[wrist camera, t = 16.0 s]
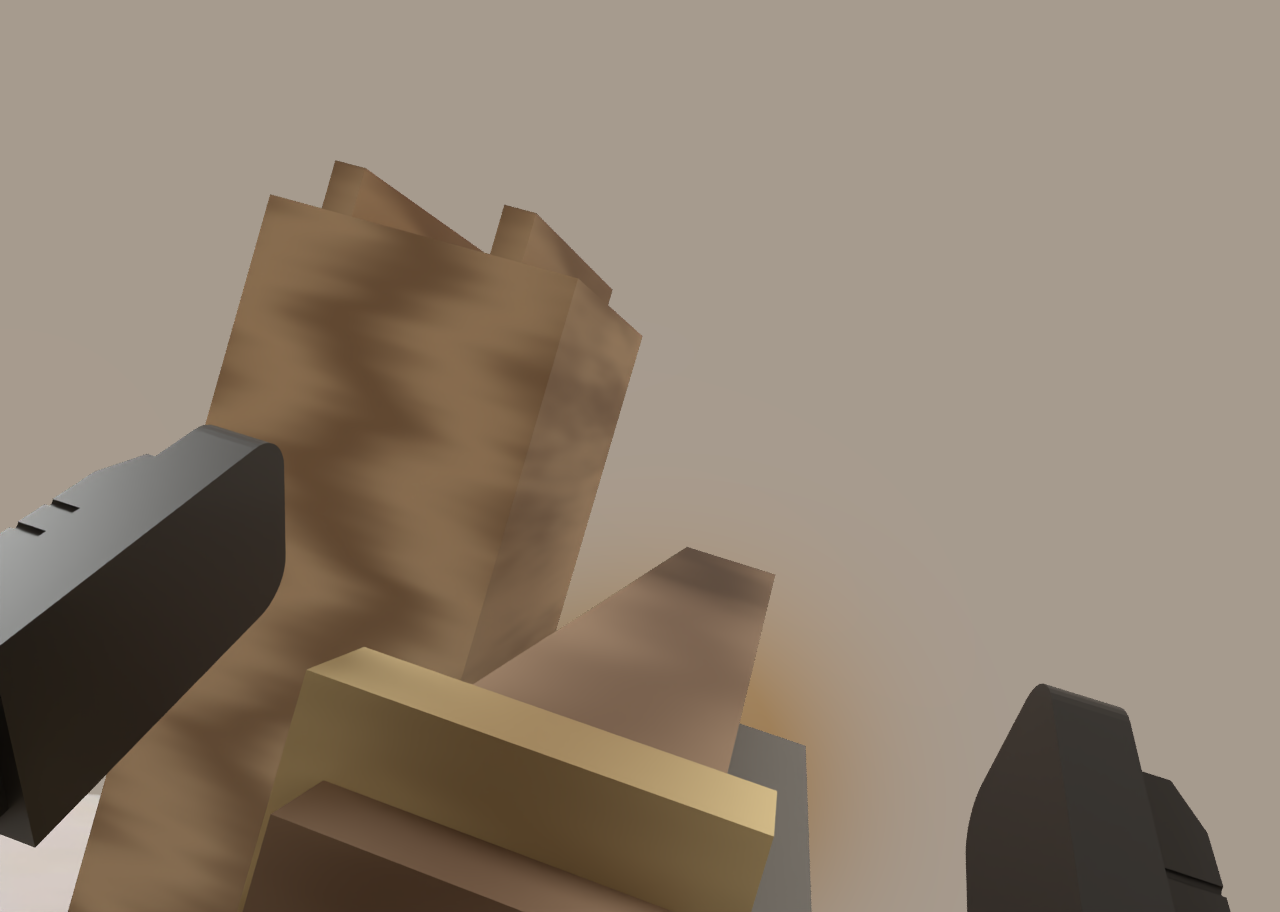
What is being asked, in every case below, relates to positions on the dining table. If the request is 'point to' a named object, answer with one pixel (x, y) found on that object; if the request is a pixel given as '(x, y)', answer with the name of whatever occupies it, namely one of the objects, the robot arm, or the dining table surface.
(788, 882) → the grey block
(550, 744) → the walnut bar
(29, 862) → the dining table surface
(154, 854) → the oak stand
